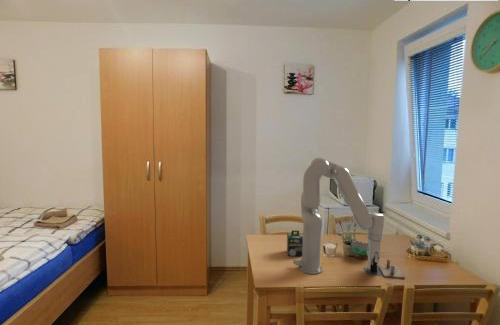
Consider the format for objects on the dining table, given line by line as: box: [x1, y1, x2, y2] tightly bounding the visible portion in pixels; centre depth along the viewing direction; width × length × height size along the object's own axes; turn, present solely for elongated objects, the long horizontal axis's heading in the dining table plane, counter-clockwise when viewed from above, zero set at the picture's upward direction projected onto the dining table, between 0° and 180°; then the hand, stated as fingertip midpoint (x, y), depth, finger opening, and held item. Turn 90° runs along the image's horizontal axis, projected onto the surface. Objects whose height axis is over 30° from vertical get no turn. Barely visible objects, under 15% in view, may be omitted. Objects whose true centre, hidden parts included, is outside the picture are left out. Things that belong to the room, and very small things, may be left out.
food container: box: [350, 239, 368, 261], centre depth 184 cm, size 12×6×10 cm, turn 47°
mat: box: [362, 267, 384, 277], centre depth 165 cm, size 9×9×1 cm
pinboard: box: [378, 259, 406, 280], centre depth 166 cm, size 10×15×5 cm, turn 171°
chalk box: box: [286, 230, 303, 258], centre depth 189 cm, size 9×9×15 cm
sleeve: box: [366, 257, 380, 273], centre depth 165 cm, size 4×4×7 cm
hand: (372, 269), depth 165 cm, fingers closed on sleeve, 4 cm apart
